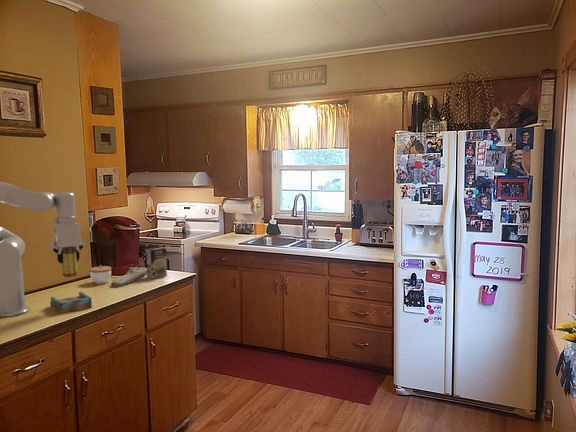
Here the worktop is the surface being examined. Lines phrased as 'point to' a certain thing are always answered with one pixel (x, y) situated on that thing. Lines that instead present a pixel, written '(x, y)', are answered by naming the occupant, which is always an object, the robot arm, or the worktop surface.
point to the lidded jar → (100, 274)
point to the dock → (71, 303)
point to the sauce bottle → (69, 261)
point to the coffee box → (156, 263)
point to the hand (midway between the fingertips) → (68, 261)
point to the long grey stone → (129, 276)
